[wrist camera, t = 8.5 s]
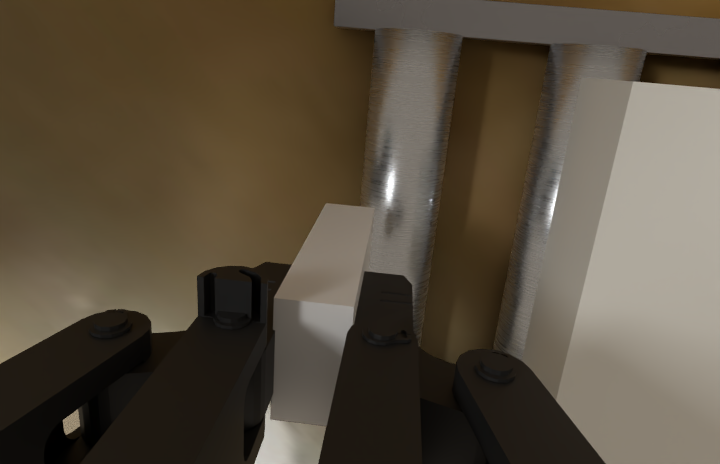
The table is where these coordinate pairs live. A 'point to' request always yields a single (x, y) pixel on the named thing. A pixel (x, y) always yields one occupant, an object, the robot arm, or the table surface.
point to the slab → (635, 275)
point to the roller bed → (434, 112)
